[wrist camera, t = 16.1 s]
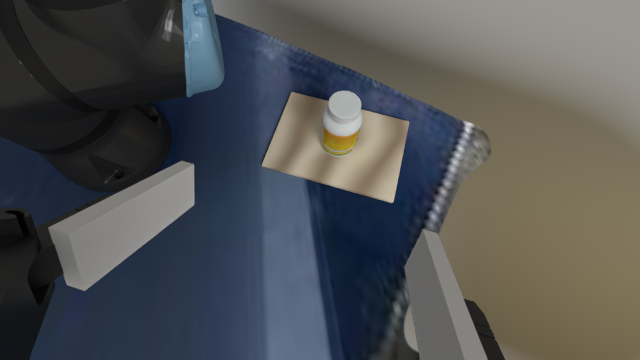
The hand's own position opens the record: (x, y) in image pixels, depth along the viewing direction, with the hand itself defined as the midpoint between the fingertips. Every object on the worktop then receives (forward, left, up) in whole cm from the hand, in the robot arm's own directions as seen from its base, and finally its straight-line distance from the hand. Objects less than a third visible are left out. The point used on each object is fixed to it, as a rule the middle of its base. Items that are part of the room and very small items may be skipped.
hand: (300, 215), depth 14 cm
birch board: (0, +17, -21) cm, 27 cm away
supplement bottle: (0, +17, -21) cm, 27 cm away
